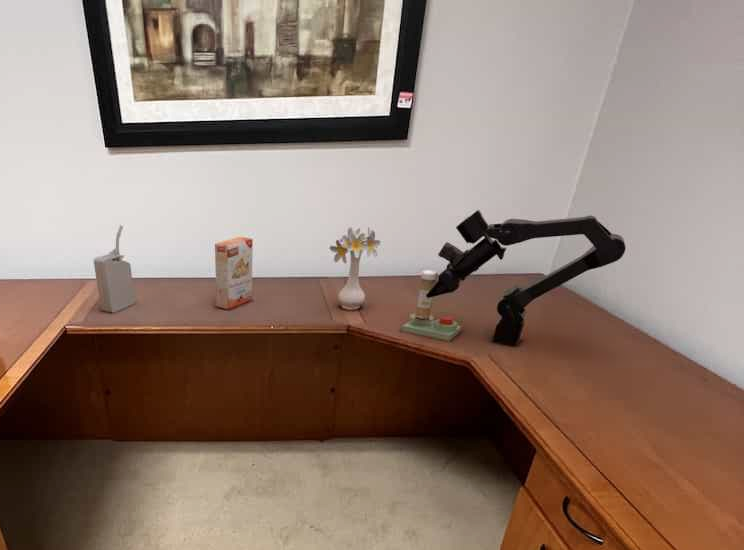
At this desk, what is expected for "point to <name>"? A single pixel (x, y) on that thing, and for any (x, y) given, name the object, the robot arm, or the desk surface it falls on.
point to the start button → (446, 320)
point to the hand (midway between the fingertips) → (430, 292)
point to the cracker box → (233, 272)
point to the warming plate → (421, 319)
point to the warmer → (432, 329)
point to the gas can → (114, 280)
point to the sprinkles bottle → (424, 302)
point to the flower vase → (354, 264)
